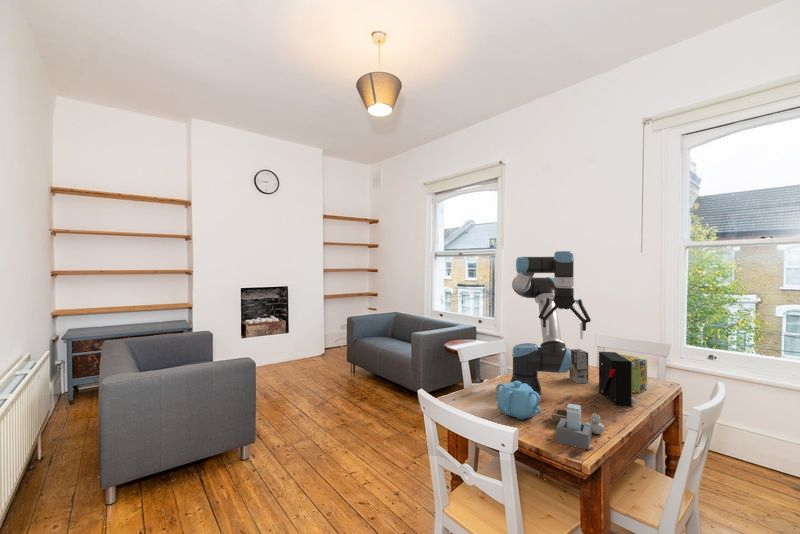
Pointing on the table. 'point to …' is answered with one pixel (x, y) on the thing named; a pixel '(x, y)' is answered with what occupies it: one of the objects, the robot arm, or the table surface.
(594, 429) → the rubber duck
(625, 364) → the electrical component
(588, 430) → the port
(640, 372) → the protein box
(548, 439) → the table surface
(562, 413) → the holster
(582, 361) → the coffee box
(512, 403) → the decorative pot
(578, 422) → the plug
